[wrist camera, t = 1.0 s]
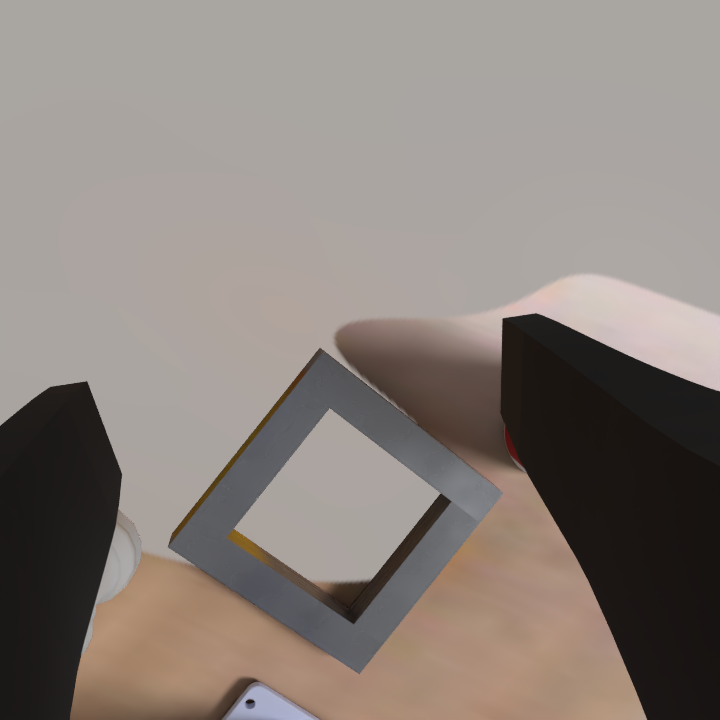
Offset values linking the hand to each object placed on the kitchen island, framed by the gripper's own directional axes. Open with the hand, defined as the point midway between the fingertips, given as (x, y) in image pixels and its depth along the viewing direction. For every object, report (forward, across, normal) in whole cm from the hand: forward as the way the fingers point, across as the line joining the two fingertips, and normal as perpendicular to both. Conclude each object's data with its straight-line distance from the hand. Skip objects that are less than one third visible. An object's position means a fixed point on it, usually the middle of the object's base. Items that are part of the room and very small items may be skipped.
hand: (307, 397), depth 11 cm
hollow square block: (+14, 0, +16) cm, 21 cm away
